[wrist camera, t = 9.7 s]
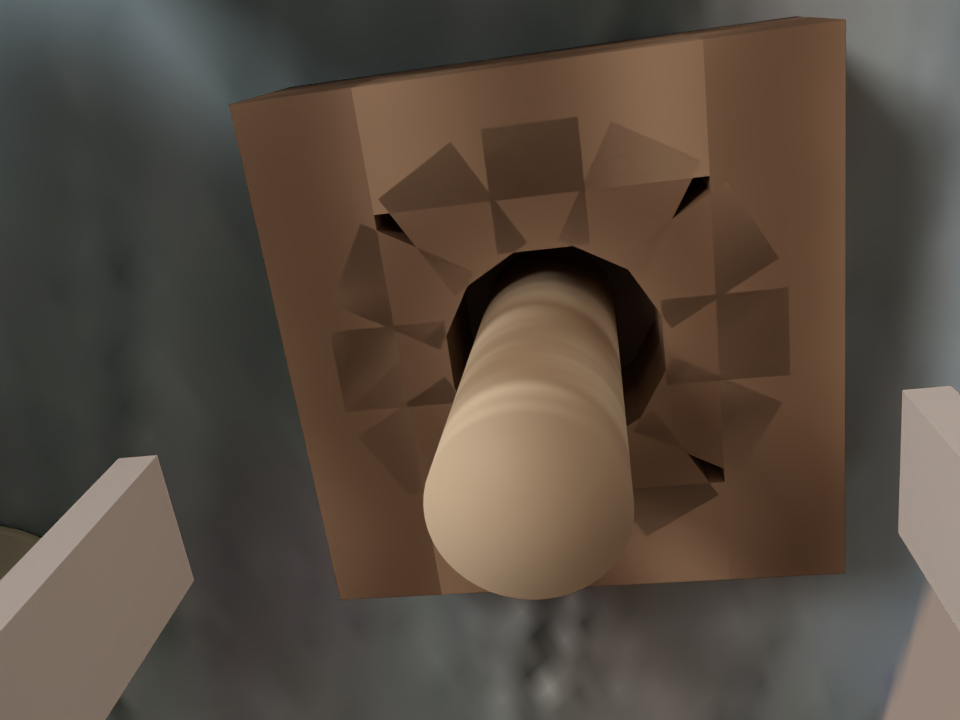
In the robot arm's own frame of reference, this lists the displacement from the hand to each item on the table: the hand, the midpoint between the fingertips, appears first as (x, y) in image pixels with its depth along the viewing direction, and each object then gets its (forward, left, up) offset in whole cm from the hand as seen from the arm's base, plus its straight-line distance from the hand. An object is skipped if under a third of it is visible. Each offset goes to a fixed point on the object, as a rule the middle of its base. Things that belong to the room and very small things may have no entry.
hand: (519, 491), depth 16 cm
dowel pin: (0, 0, -11) cm, 11 cm away
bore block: (0, 0, -12) cm, 12 cm away
